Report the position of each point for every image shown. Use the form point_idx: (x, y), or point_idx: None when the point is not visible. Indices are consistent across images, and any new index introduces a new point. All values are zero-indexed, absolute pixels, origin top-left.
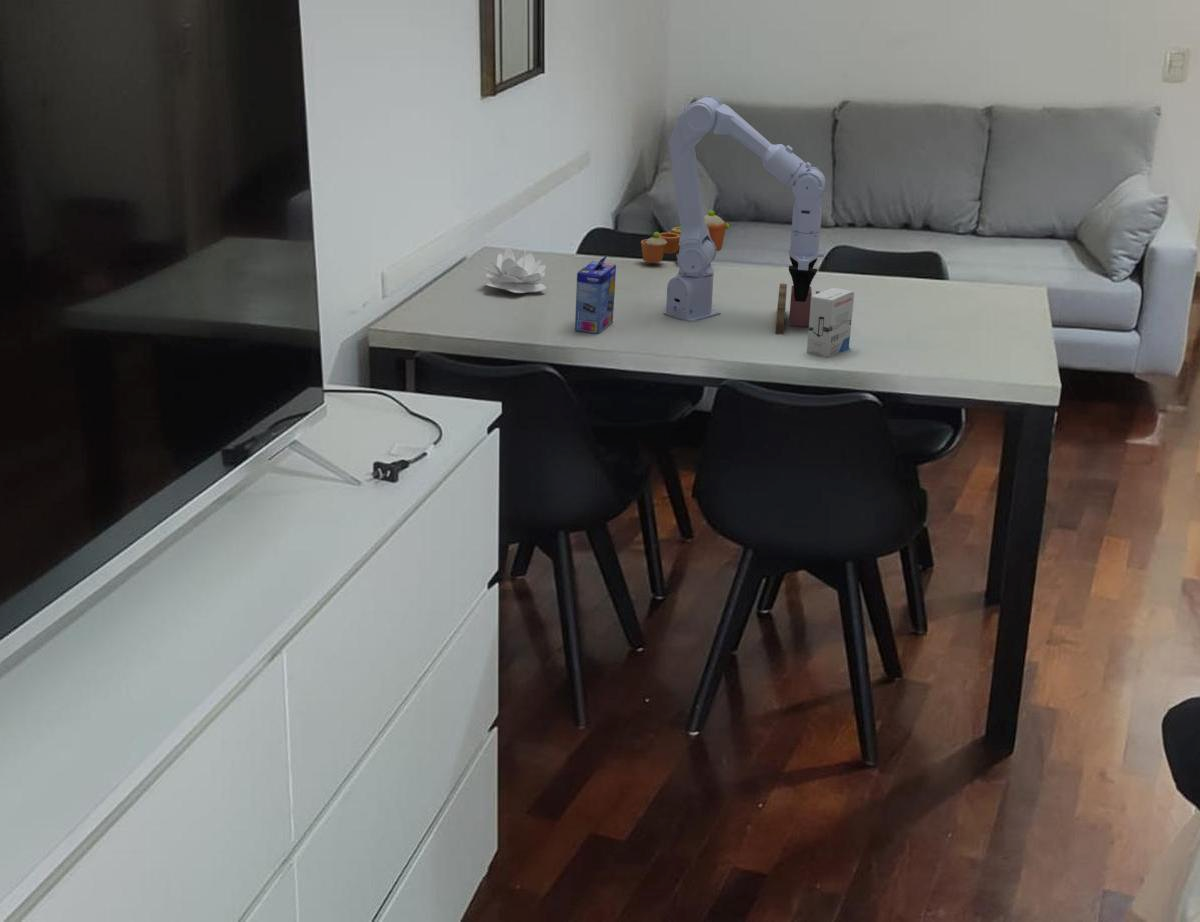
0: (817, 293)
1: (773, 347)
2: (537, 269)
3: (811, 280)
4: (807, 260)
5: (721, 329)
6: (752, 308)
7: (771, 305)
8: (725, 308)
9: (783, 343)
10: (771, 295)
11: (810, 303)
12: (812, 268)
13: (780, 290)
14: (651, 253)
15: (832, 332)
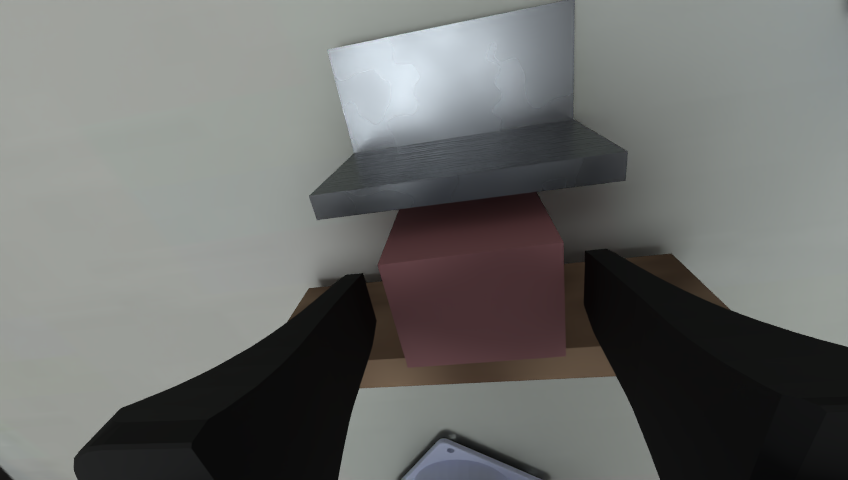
0: (365, 202)
1: (793, 260)
2: None
3: (789, 334)
4: None
5: (574, 416)
6: None
7: (249, 326)
8: (354, 424)
9: (731, 232)
10: (143, 338)
11: (546, 212)
12: (281, 364)
13: (396, 381)
14: None
15: None
